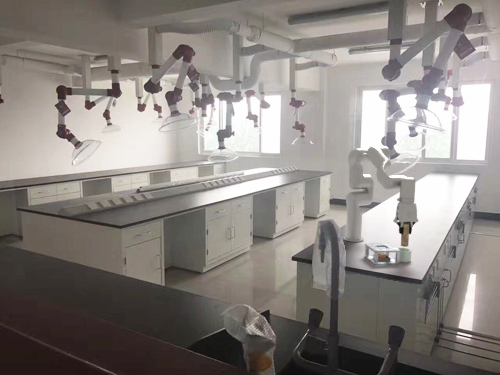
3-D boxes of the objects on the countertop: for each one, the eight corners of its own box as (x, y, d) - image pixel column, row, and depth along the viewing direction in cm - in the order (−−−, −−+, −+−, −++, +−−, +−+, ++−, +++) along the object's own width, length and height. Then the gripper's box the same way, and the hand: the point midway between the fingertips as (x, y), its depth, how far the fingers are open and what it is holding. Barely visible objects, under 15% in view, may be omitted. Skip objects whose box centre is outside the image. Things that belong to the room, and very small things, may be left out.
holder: (394, 258, 221) (394, 247, 220) (406, 257, 222) (406, 247, 221) (400, 262, 214) (400, 251, 213) (412, 262, 215) (413, 251, 214)
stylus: (402, 246, 215) (404, 223, 213) (399, 244, 218) (400, 221, 217) (409, 246, 215) (410, 222, 213) (406, 244, 219) (407, 221, 217)
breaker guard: (364, 256, 225) (364, 243, 224) (388, 255, 226) (388, 242, 225) (374, 264, 211) (375, 251, 210) (399, 263, 213) (400, 250, 212)
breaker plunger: (375, 258, 221) (376, 252, 220) (383, 257, 221) (384, 252, 221) (379, 260, 216) (379, 255, 216) (387, 260, 217) (387, 255, 216)
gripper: (395, 201, 209) (393, 236, 211) (425, 201, 211) (423, 235, 213) (388, 199, 216) (387, 232, 219) (417, 198, 218) (416, 231, 220)
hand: (405, 233), depth 216 cm, fingers closed on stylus, 3 cm apart
